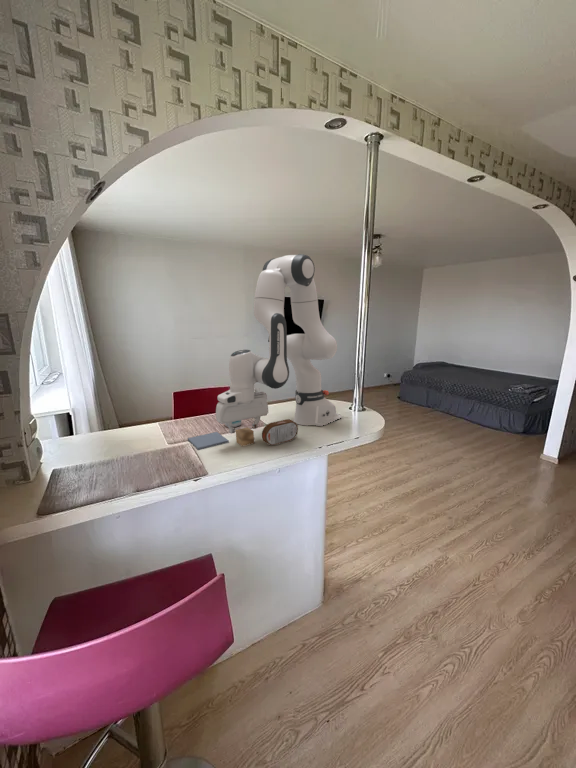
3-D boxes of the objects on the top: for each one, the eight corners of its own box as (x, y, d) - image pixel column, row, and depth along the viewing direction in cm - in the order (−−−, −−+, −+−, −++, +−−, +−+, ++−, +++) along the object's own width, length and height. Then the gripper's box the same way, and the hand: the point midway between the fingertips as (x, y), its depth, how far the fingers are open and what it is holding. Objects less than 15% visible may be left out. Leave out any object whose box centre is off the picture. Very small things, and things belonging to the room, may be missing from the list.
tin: (294, 437, 130) (294, 416, 129) (299, 439, 128) (299, 418, 126) (261, 446, 122) (260, 424, 120) (265, 448, 119) (265, 426, 118)
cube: (248, 439, 129) (247, 427, 128) (254, 443, 125) (253, 430, 124) (236, 442, 126) (235, 430, 125) (242, 446, 122) (241, 433, 121)
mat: (216, 433, 136) (216, 431, 136) (228, 442, 126) (228, 440, 126) (187, 440, 129) (187, 438, 129) (198, 450, 120) (197, 447, 119)
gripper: (262, 389, 129) (263, 423, 132) (213, 396, 118) (215, 433, 121) (271, 392, 124) (271, 427, 127) (220, 399, 113) (222, 438, 115)
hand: (243, 430), depth 124 cm, fingers open, 8 cm apart
